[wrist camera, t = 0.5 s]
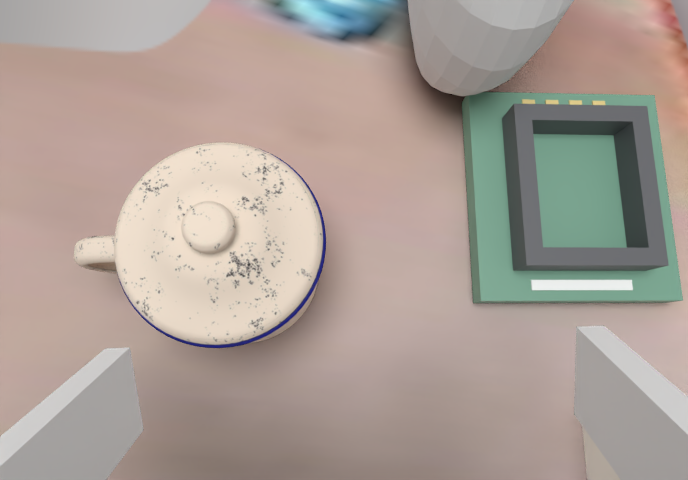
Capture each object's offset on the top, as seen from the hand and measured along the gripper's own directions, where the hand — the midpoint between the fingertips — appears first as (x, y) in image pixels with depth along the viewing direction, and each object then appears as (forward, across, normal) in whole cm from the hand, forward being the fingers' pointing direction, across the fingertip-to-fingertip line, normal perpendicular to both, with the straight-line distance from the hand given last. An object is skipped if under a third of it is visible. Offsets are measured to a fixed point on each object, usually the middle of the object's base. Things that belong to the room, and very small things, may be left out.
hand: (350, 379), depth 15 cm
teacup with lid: (+16, +8, 0) cm, 18 cm away
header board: (+19, -13, -2) cm, 23 cm away
